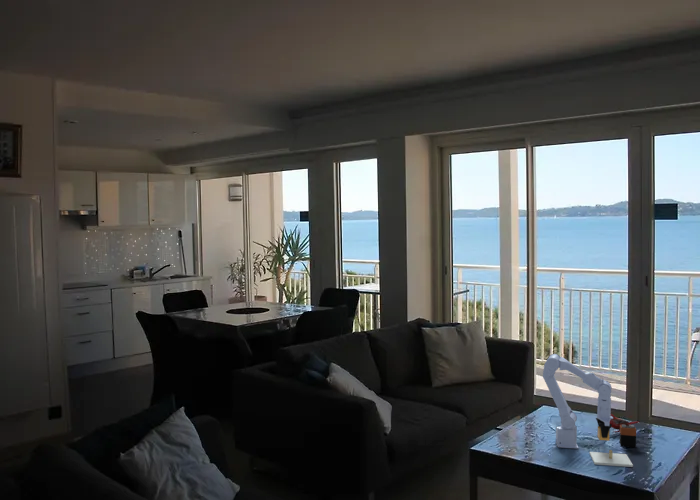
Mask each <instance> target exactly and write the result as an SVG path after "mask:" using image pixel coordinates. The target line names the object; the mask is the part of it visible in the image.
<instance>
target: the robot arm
mask: <svg viewBox="0 0 700 500" xmlns="http://www.w3.org/2000/svg"><path fill="white" fill-rule="evenodd" d="M558 369H559V371H565V370H566V371H568V372H569V373H571V374H573V375H574V376H577V377H578V378H581V380H582V382H583V383H584V384H585V385H586V386H589V388H592V389H593V390H596V391H597V394H598V397H597V413H596V414H597V415H596V417H595V420H596V421H597V427H598V426H600V428H601V435H602V438H607V436H608V433H609V430H611V428H612V424H610V420H611V419H613V417H612V416H611V414H612V413H611V409H612V405H611V404H612V394H611V393H612V384H611V383H610V382H609V381H608V380H605V379H603V378H600V377H599V376H597V375H596V374H595V373H594V372H590V371H588V372H586V371H584V370H582V369H581V368H579V367H578V366H576V365H575V364H573V363H572V362H570V361H569V360H567V359H566V358H565V357H563V356H560V355H559V354H557V353H552V354H550V355H549V356H548V358H547V359H546V361H545V362H544V365H543V370H542V378H543V380H544V382H545V384H546V386H547V388H548V391H549V393H550V395H551V397H552V399H553V401H554V403H555V406H556V408H557V410H558V414H559V417H560V420H561V421H560V423H561V424H560V426H556V427H555V444H556V446H557V447H558V448H562V449H563V448H565V449H578V450H579V446H578V442H577V439H578V438H577V434H578V433H577V430H578V428H577V427H578V426H577V424H576V422H577V421H578V420H577V419H578V417H577V414H576V413H575V412H574V411H573V410H572V408H571V407H570V406H569V404H568V402H567V400H566V398H565V397H564V395H563V394H564V393H563V392H562V390H561V387H560V385H559V384H558V381H557V379H556V377H555V374H556V372H557V370H558Z"/></svg>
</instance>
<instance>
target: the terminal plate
mask: <svg viewBox="0 0 700 500" xmlns="http://www.w3.org/2000/svg"><path fill="white" fill-rule="evenodd" d="M589 456H590V458H591V459H592V463H593V464H594V465H598V466H613V467H626V468H627V467H631V468H633V467H634V464H633V463H632V461H631V459H630V458H629V456H628V454H626V453H618V452H617V453H614V451H613V450H612V449H609V450H608V452H601V451H600V452H599V451H598V452H597V451H589Z"/></svg>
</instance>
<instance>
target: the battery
mask: <svg viewBox="0 0 700 500" xmlns="http://www.w3.org/2000/svg"><path fill="white" fill-rule="evenodd" d="M619 444H620V447H627V448H628V447H629V448H636V447H637V428H636V426H635V424H632V425H629V426H626V425H620V432H619Z"/></svg>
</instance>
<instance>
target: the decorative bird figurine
mask: <svg viewBox="0 0 700 500" xmlns="http://www.w3.org/2000/svg"><path fill="white" fill-rule="evenodd" d="M611 416H612V417H613V419H611V420H610V424H612V427H611V428H612V429H613V430H612V431H613V432H612V433H616V432H617V433H620V425H626V426H629V425H636V424H638V423H640V421H628V420H625V419H623V418H619V417H616V416H615V415H614V414H613V413H611Z"/></svg>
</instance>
